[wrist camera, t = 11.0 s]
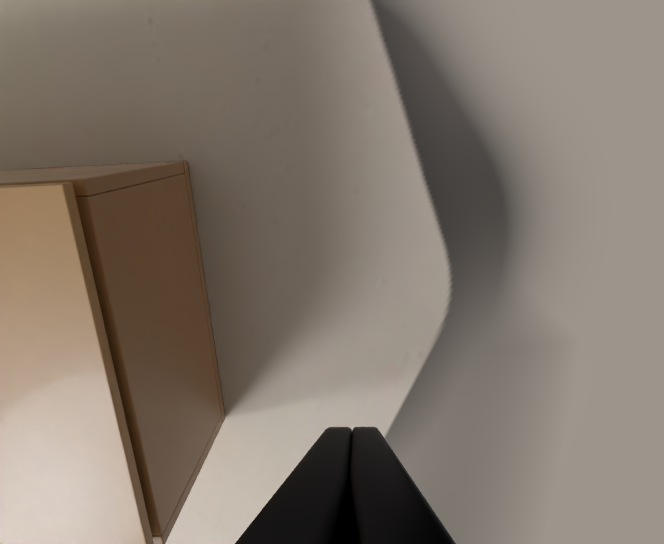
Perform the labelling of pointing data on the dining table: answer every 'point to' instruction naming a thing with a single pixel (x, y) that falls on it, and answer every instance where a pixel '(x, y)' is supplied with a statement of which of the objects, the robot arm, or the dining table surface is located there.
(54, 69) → the dining table surface
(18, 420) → the flap
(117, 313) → the carton
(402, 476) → the robot arm
